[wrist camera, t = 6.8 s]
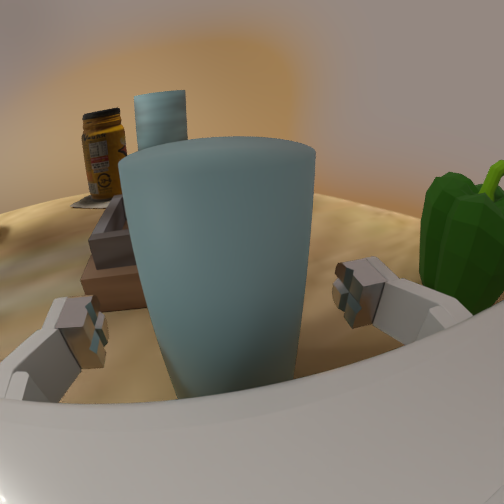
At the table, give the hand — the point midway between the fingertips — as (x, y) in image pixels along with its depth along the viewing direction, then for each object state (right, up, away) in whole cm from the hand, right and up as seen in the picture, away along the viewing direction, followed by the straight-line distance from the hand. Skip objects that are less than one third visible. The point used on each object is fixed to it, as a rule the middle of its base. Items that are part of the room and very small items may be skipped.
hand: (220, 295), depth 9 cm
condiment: (-19, +9, +27) cm, 34 cm away
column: (0, -5, +3) cm, 5 cm away
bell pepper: (+15, -2, +8) cm, 17 cm away
